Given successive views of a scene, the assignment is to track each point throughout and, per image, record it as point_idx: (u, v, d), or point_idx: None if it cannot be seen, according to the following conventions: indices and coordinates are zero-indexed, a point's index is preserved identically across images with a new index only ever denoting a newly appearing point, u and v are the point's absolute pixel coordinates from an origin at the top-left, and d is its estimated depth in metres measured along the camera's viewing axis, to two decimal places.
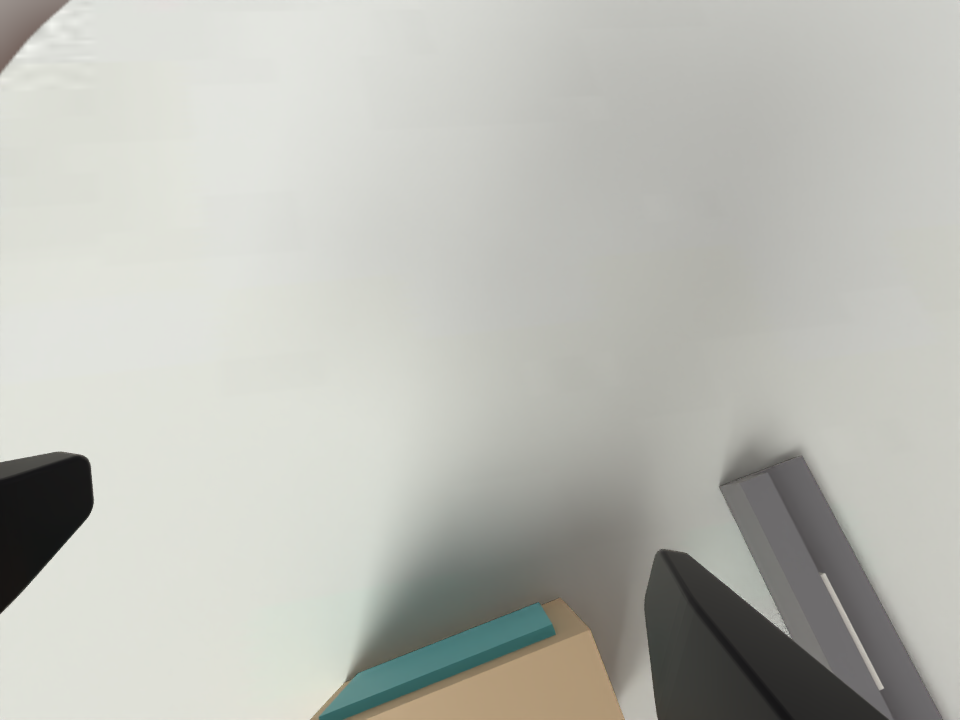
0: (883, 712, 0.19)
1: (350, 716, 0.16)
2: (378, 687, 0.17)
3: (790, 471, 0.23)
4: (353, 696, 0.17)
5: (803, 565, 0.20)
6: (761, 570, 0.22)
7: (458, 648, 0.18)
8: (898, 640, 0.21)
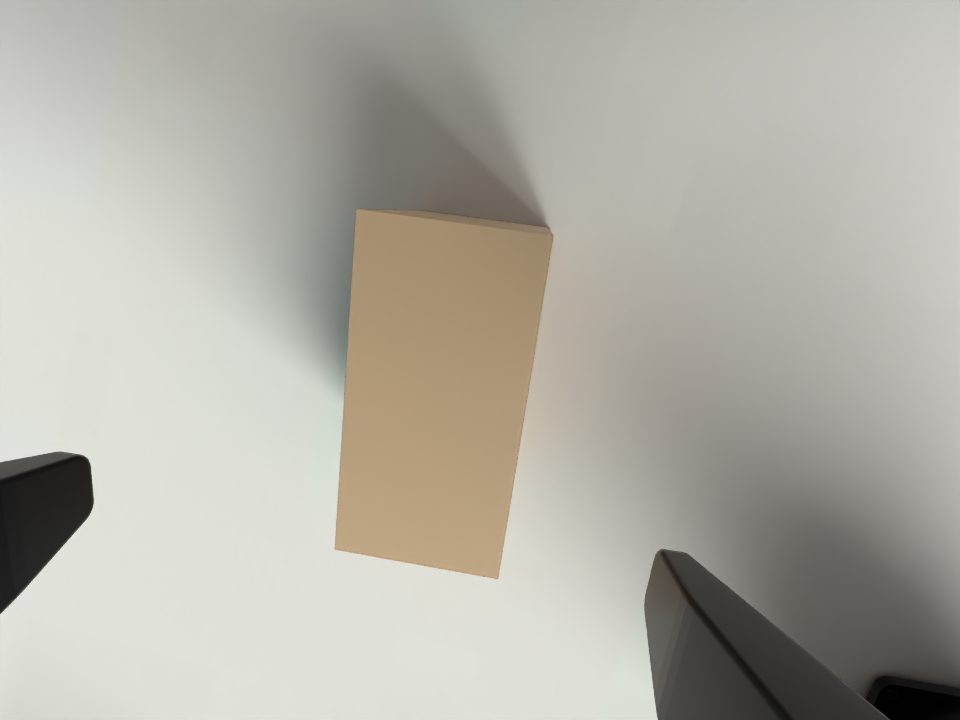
0: None
1: None
2: None
3: None
4: None
5: None
6: None
7: None
8: None
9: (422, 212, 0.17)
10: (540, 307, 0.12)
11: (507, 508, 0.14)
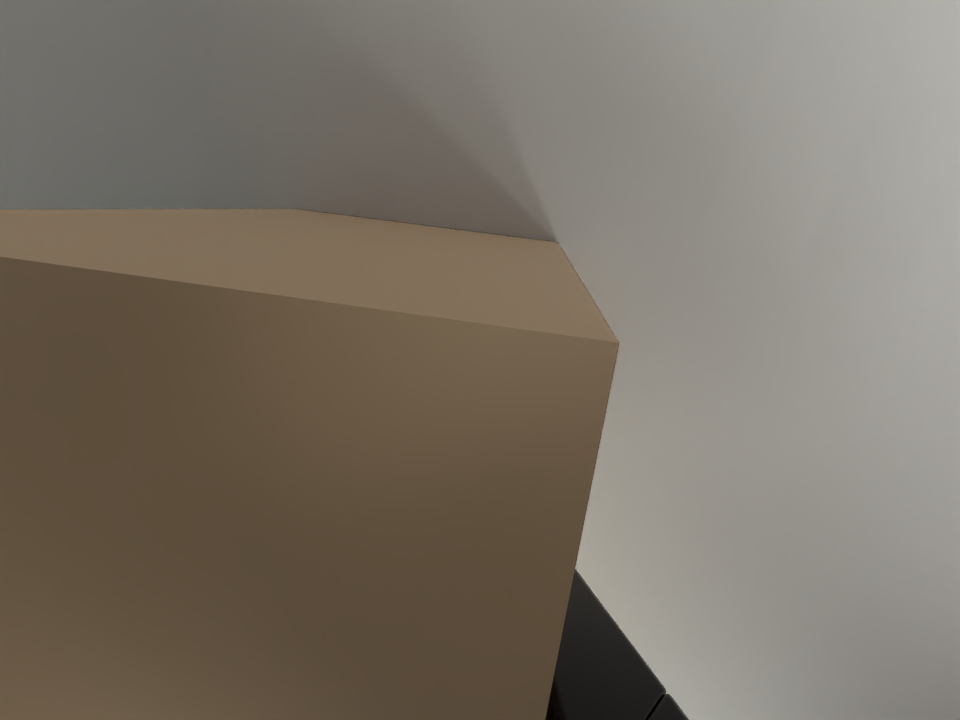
0: None
1: None
2: None
3: None
4: None
5: None
6: None
7: None
8: None
9: (252, 214, 0.07)
10: (552, 654, 0.03)
11: None
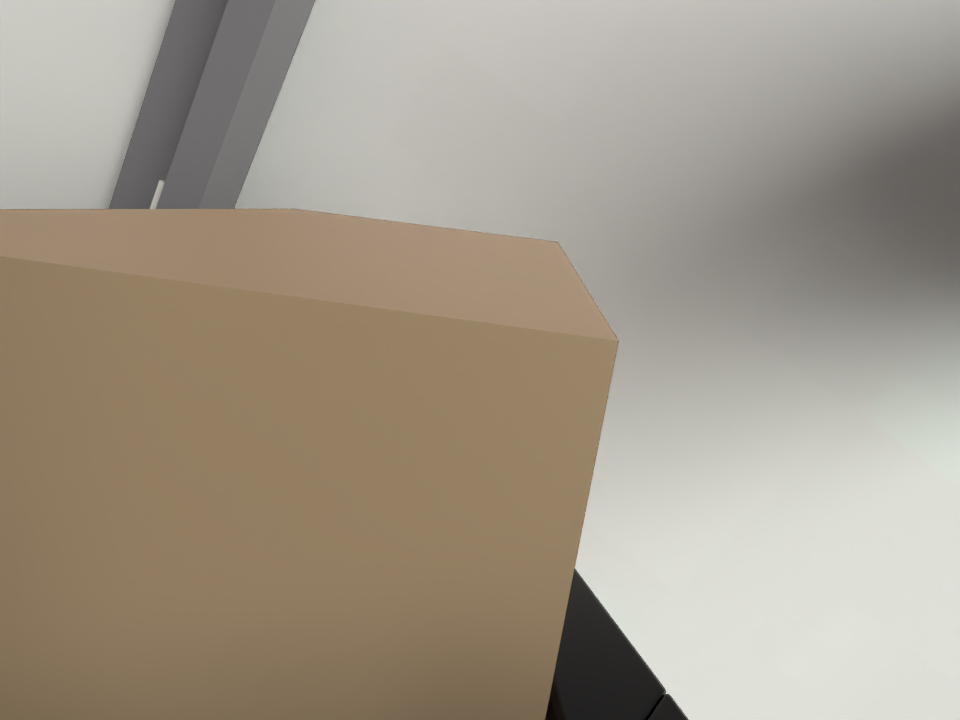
0: (176, 171, 0.16)
1: None
2: None
3: None
4: None
5: None
6: None
7: None
8: (123, 168, 0.18)
9: (252, 214, 0.07)
10: (551, 654, 0.03)
11: None
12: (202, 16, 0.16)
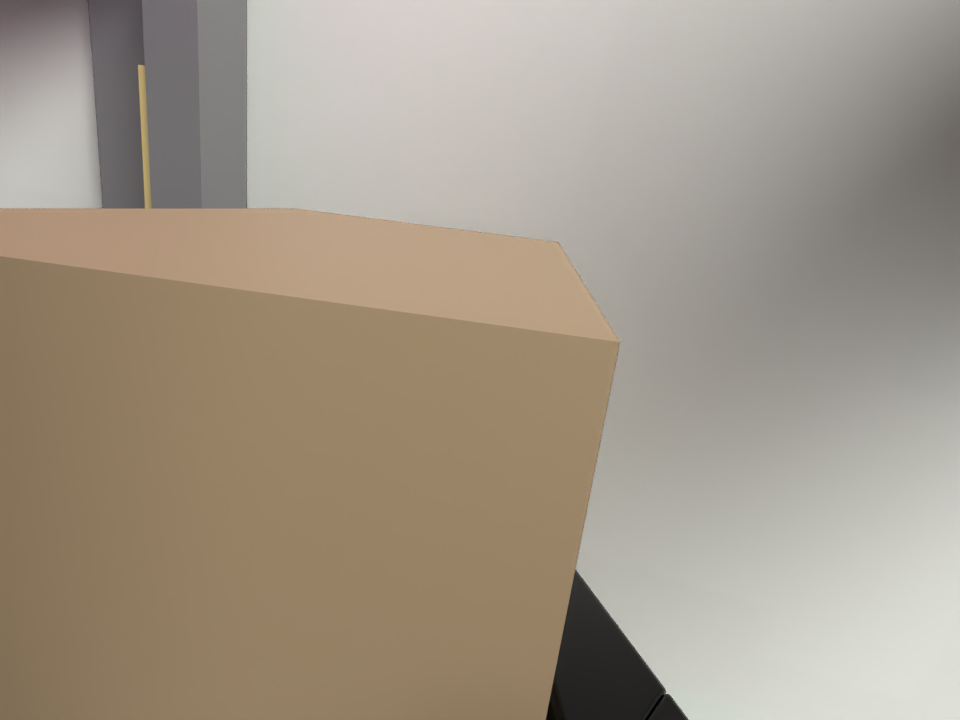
0: None
1: None
2: None
3: None
4: None
5: None
6: None
7: None
8: None
9: (252, 214, 0.07)
10: (552, 655, 0.03)
11: None
12: None
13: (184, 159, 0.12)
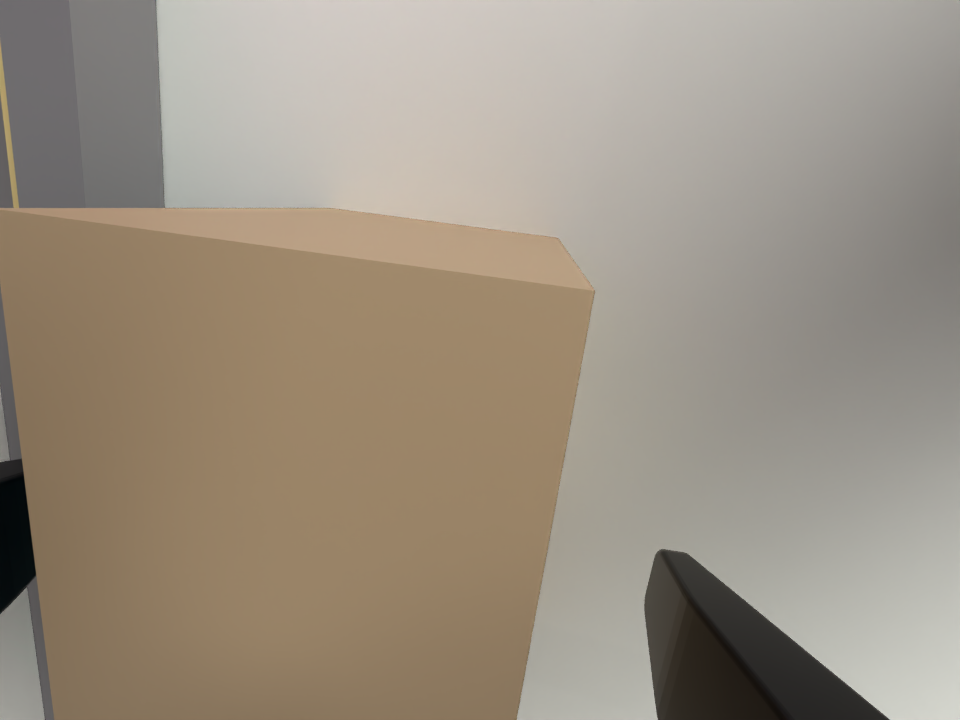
0: None
1: None
2: None
3: None
4: None
5: None
6: None
7: None
8: None
9: (307, 212, 0.08)
10: (552, 497, 0.04)
11: None
12: None
13: (58, 139, 0.09)
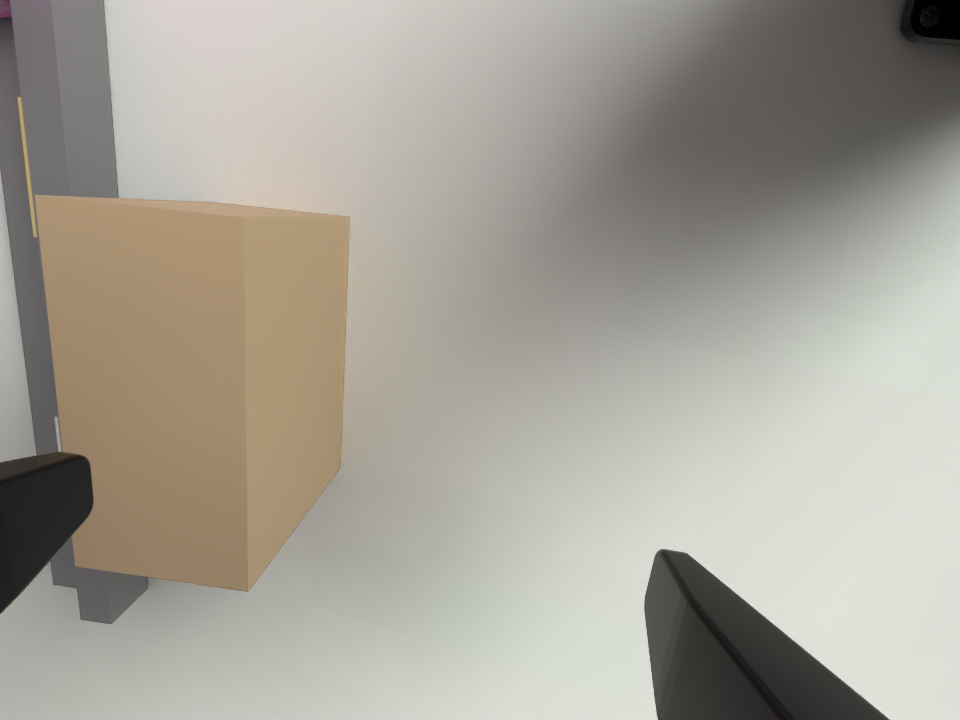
0: None
1: None
2: None
3: (71, 578, 0.22)
4: None
5: None
6: None
7: None
8: (33, 414, 0.20)
9: (189, 202, 0.16)
10: (242, 295, 0.12)
11: (245, 515, 0.13)
12: (38, 269, 0.19)
13: (55, 166, 0.16)
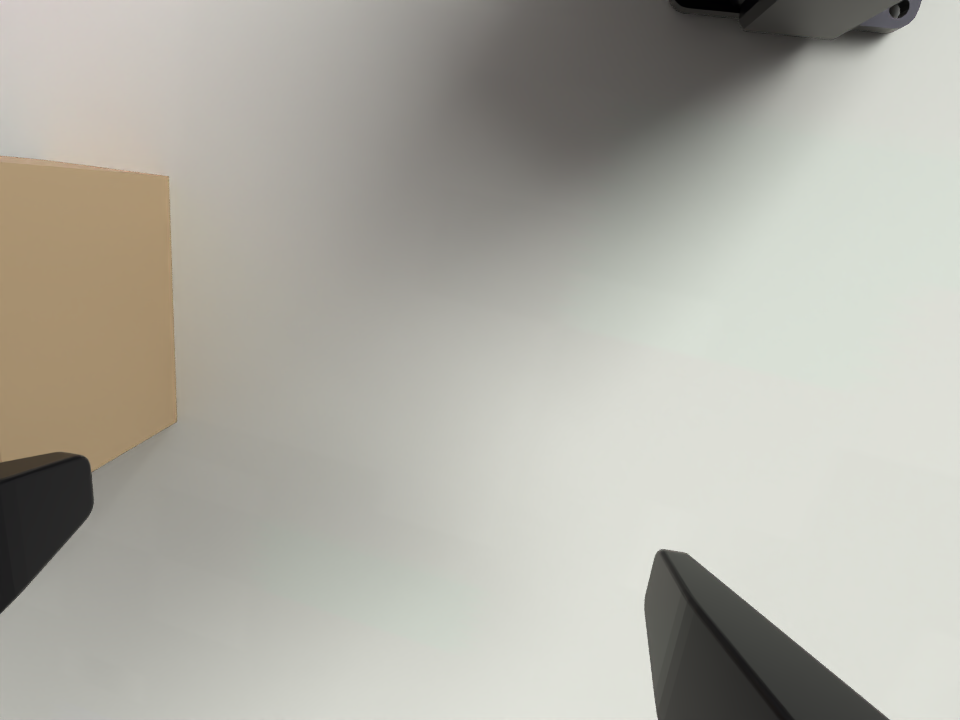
0: None
1: None
2: None
3: None
4: None
5: None
6: None
7: None
8: None
9: None
10: None
11: None
12: None
13: None
